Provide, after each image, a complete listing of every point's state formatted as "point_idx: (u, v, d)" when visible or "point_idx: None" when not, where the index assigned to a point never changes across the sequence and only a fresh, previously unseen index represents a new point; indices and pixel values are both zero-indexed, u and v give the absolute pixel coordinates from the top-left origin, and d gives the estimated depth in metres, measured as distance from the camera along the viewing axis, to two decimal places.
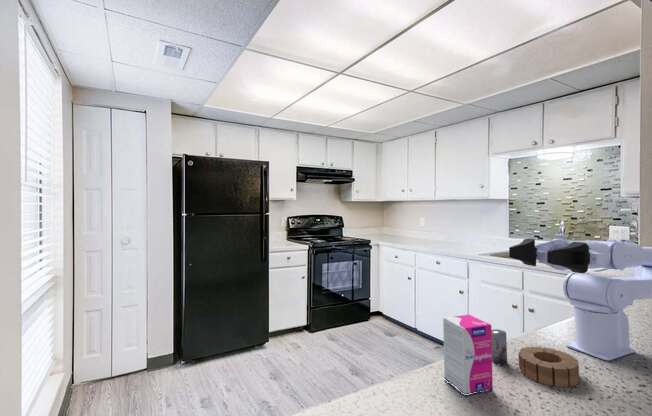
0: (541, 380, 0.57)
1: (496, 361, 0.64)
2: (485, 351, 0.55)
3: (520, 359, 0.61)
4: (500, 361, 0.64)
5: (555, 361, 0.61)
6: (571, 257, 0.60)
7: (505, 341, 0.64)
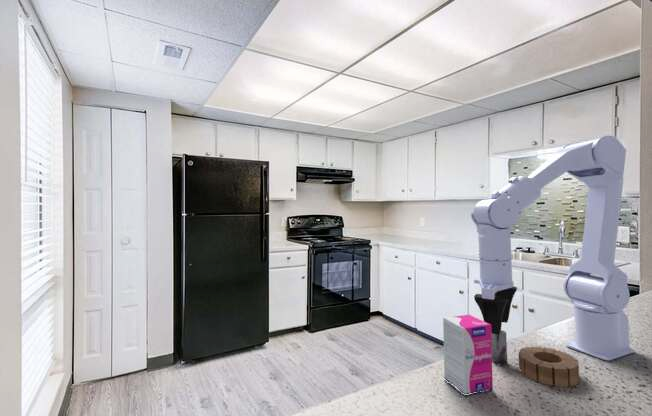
0: (541, 380, 0.57)
1: (496, 361, 0.64)
2: (485, 351, 0.55)
3: (520, 359, 0.61)
4: (500, 361, 0.64)
5: (555, 361, 0.61)
6: (492, 305, 0.62)
7: (505, 341, 0.64)
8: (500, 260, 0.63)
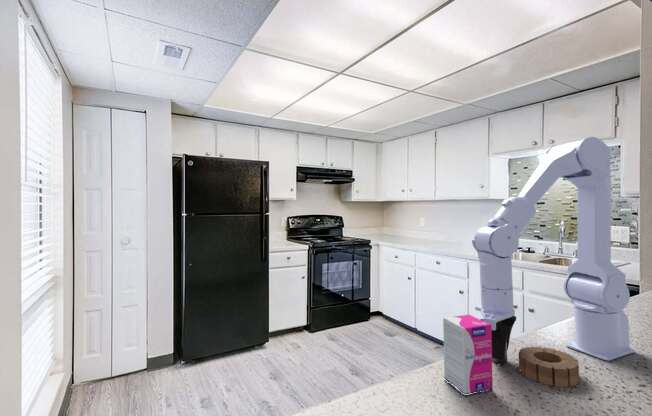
0: (541, 380, 0.57)
1: (496, 361, 0.64)
2: (485, 351, 0.55)
3: (520, 359, 0.61)
4: (500, 361, 0.64)
5: (555, 361, 0.61)
6: (495, 331, 0.64)
7: None
8: (501, 289, 0.63)
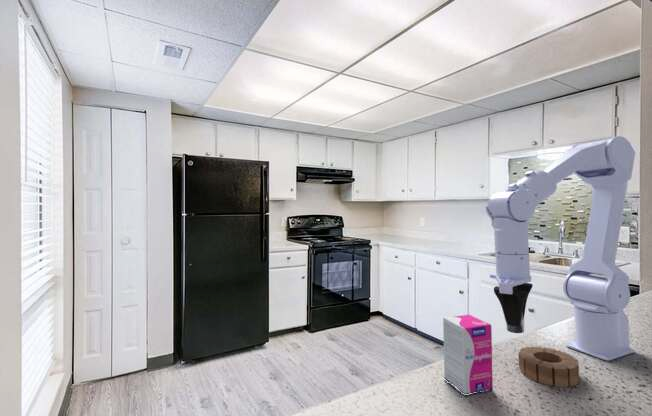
0: (541, 380, 0.57)
1: (511, 329, 0.63)
2: (485, 351, 0.55)
3: (520, 359, 0.61)
4: (516, 329, 0.62)
5: (555, 361, 0.61)
6: (511, 298, 0.62)
7: None
8: (517, 254, 0.61)
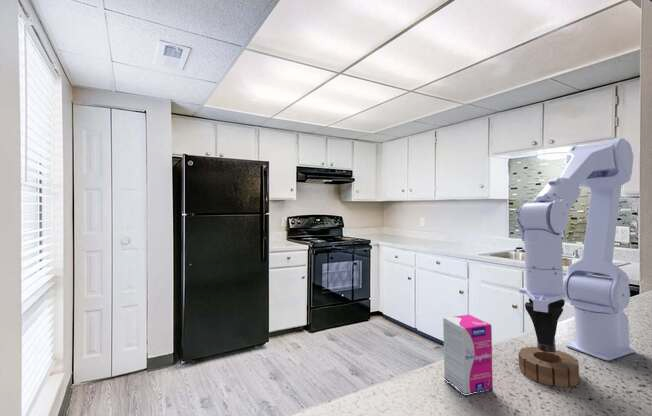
0: (541, 380, 0.57)
1: (543, 348, 0.59)
2: (485, 351, 0.55)
3: (520, 359, 0.61)
4: (548, 348, 0.59)
5: (555, 361, 0.61)
6: (544, 315, 0.59)
7: None
8: (551, 269, 0.57)
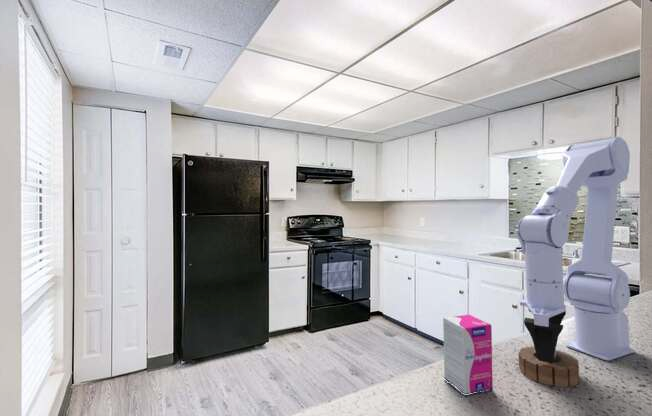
0: (541, 380, 0.57)
1: None
2: (485, 351, 0.55)
3: (520, 359, 0.61)
4: None
5: None
6: (544, 331, 0.57)
7: None
8: (552, 282, 0.57)
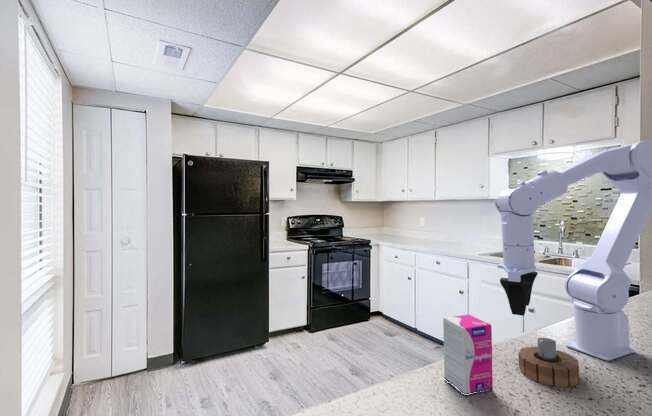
0: (541, 380, 0.57)
1: None
2: (485, 351, 0.55)
3: (520, 359, 0.61)
4: None
5: None
6: (516, 288, 0.65)
7: (555, 351, 0.59)
8: (524, 245, 0.66)
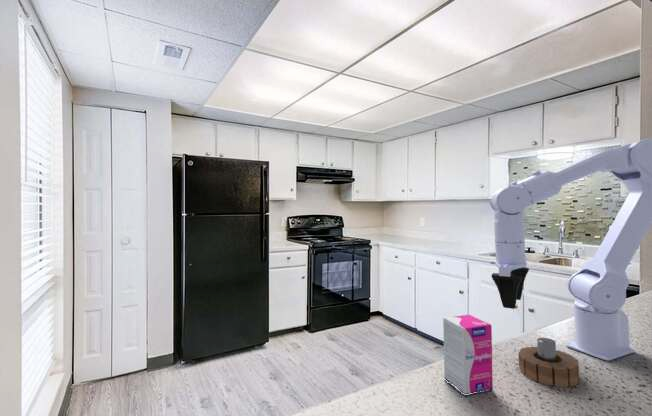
0: (541, 380, 0.57)
1: None
2: (485, 351, 0.55)
3: (520, 359, 0.61)
4: None
5: None
6: (507, 283, 0.69)
7: (555, 351, 0.59)
8: (515, 242, 0.70)
